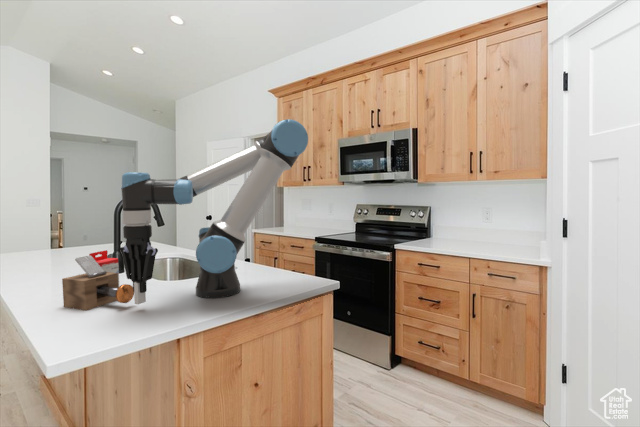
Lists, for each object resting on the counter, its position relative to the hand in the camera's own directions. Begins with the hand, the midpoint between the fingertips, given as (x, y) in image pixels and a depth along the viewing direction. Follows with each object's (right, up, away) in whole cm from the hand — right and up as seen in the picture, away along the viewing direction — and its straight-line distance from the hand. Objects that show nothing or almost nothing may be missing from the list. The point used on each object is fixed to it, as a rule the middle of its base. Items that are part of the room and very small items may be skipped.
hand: (140, 302), depth 109 cm
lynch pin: (-10, -1, +4) cm, 11 cm away
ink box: (-23, -2, +21) cm, 31 cm away
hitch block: (-19, -2, +8) cm, 21 cm away
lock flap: (-20, +9, +7) cm, 23 cm away
